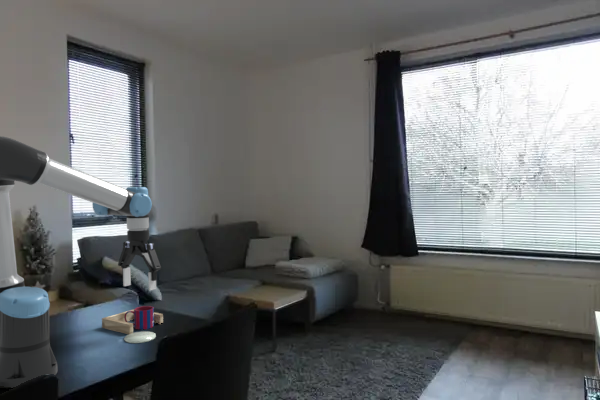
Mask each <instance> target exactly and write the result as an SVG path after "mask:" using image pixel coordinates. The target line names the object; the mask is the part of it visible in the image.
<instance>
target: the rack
mask: <svg viewBox="0 0 600 400" xmlns="http://www.w3.org/2000/svg"><path fill="white" fill-rule="evenodd" d="M134 309H135V308H133V309H130V310H129V311H134ZM127 311H128V310H127ZM127 311H123V312H120V313H116V314H113V315H108V316H105V317H102V318H101V328H102V329H104V330H109V331H114V332H118V333H122V334H126V335H129V334H132V333H134V325H133V323H134V322H131V321H134V320H133V319H134V314H133V313H131V312H129V313H127V314H126V320H127V321H128V322H126V321H125V318H124V317H125V313H126V312H127ZM130 320H131V321H130ZM156 323H158V324H157V325H162V324H161V323H163V324H164V313H159V312H154V324H156Z"/></svg>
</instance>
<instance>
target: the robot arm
mask: <svg viewBox="0 0 600 400" xmlns="http://www.w3.org/2000/svg"><path fill="white" fill-rule="evenodd" d="M16 182H19V183H23V184H27V185H30V186H34V185H37V184H38V185H41V186H45V187H46V188H50V189H52V190H53V189H54V190H55V191H59V192H61V193H64V194H68V195H69V196H74V197H76V198H79V199H82V200H85V201H88V202H91V203H92V210H93V212H94V213H95V214H96V215H97V216H122V217H123V216H126V228H127V232H126V239H127V241H123V243H122V249H121V254H120V256H119V260H118V263H117V266H118V267H120V268H121V269H122V270H121V271H122V282H123V283H122V284H123V285H122V286H123V287H128V286H131V285H132V282H131V281H132V280H131V277H132V275H131V263H132V262H133V260H134V258H135V257H136V256H140V257H141V258H142V259H143V261H144V262H145V265H146V266H147V268H148V277H147V278H148V291H154V290H157V279H158V271H159V270H162V266H161V264H160V261H159V260H160V259H159V258H158V255H157V252H156V249H155V243H154V242H152V243H148V241H149V240H150V230H149V228H150V219H149V217H150V215H149V214H150V212H151V209H152V207H153V204H152V203H153V202H152V199H151V198H150V196H149V189H148V188H147V187H146V186H132V187H131V186H129V187H126V189H125V188H124V187H122V186H119V185H117V184H114V183H112V182H109V181H107V180H105V179H104V180H103V179H101V178H99V177H96V176H94V175H92V174H89V173H86V172H84V171H82V170H80V169H79V170H78V169H76V168H74V167H72V166H69V165H67V164H64V163H63V162H62V163H61V162H59V161H57V160H55V159H52V158H50V157H49V155H48V154H47V152H45V151H42V150H39V149H37V148H35V147H33V146H31V145H29V144H28V145H27V144H26V143H23V142H21V141H18V140H16V139H13V138H11V137H7V136H1V135H0V386H4V387H11V388H13V387H16V386H18V385H20V384H21V383H24V382H26V381H28V380H31V379H33V378H36V377H38V376H41V375H44V374H54V375H55V376H56V375H57V373H58V362H57V360H56V357H55V355H54V352H53V350H52V347H51V344H50V343H51V341H50V306H51V303H50V299H49V294H48V291H46V290H45V289H43V288H41V287H37V286H32V287H31V286H26V285H25V279H24V277H22V276H20V275H19V274H18V270H17V269H18V267H17V258H16V248H15V247H16V246H15V238H14V227H13V220H12V210H11V209H12V208H11V199H10V192H11V190H13V188H14V187H15V185H16Z"/></svg>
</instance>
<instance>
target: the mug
mask: <svg viewBox="0 0 600 400" xmlns="http://www.w3.org/2000/svg"><path fill="white" fill-rule="evenodd" d="M133 309H134V311H130V310H127V312H126V311H125V312H126V313H125V317H124V318H125V321H126V322H129V321H127V320H126V314H127V313H129V312H131V313H133V314H134V320H133V321H134V322H132V323H133V328H134V329H135V330H140V331H141V330H142V331H144V330H148V329H152V328H153V327H154V326H155V323H154V311H155V310H154V309H155V307H154V306H151V305H143V306H142V305H141V306H137V307H135V308H133ZM143 329H144V330H143Z"/></svg>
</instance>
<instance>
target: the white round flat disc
mask: <svg viewBox="0 0 600 400" xmlns="http://www.w3.org/2000/svg"><path fill="white" fill-rule="evenodd" d="M156 337H157V335H156V333H155V332H153V331H136V332H133V333H132V334H126V335H125V337H123V338H124V341H125V342H126V343H130V344H141V343H146V342H151V341H153V340H154V339H156Z"/></svg>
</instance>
